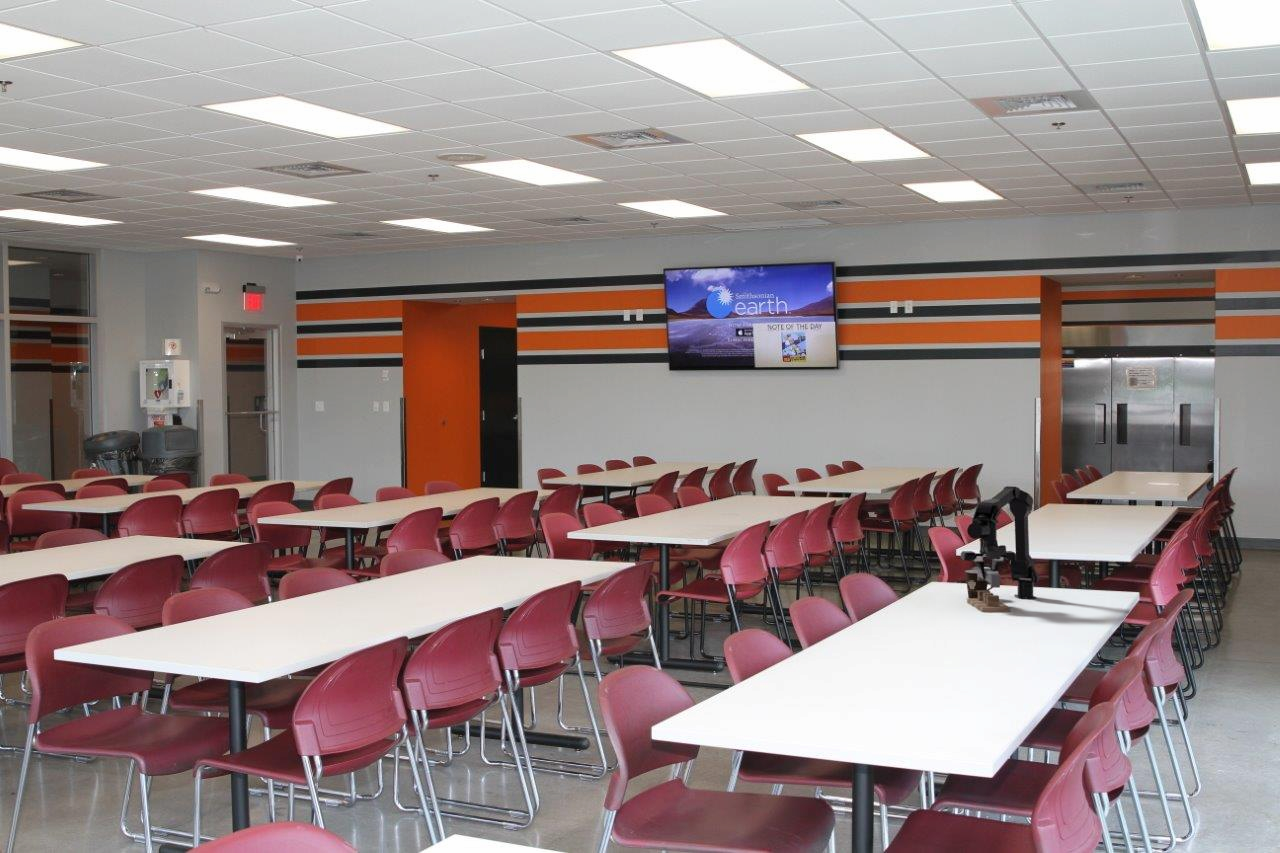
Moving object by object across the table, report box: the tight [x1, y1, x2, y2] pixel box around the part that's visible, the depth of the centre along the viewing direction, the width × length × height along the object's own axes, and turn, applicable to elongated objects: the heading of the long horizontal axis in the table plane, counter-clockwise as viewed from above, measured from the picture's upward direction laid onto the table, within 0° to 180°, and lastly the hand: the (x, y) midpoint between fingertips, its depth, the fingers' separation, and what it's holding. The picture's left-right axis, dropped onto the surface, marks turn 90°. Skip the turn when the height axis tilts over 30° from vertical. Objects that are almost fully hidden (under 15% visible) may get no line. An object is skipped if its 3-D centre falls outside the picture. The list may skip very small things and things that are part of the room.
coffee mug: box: [964, 569, 993, 599], centre depth 459 cm, size 12×9×10 cm
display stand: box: [966, 590, 1011, 613], centre depth 440 cm, size 20×10×5 cm, turn 0°
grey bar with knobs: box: [977, 566, 1001, 589], centre depth 440 cm, size 18×4×5 cm, turn 0°
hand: (988, 579), depth 440 cm, fingers closed on grey bar with knobs, 3 cm apart
